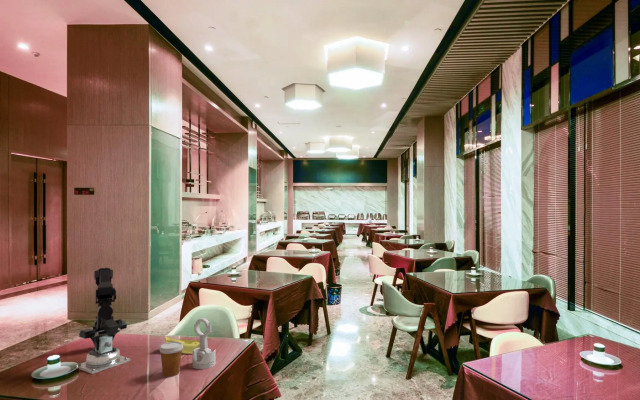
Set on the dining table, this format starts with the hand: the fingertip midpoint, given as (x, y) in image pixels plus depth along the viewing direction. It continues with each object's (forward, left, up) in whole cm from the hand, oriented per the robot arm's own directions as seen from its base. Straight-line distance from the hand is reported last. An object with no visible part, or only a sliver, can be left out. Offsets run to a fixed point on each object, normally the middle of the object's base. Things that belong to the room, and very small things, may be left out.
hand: (103, 348), depth 167 cm
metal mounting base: (0, 0, -7) cm, 7 cm away
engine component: (+40, +23, -7) cm, 47 cm away
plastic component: (+17, +31, -7) cm, 37 cm away
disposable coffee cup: (+36, +9, -7) cm, 38 cm away
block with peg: (0, 0, -1) cm, 1 cm away
